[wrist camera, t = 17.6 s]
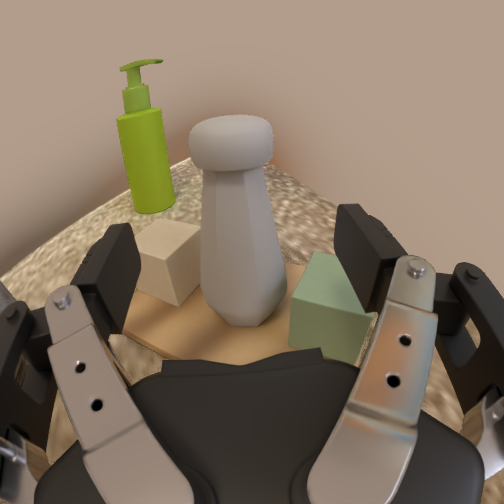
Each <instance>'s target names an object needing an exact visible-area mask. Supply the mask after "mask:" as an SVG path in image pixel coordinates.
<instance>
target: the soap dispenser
mask: <svg viewBox="0 0 504 504" xmlns="http://www.w3.org/2000/svg"><path fill="white" fill-rule="evenodd" d="M162 62H163V60H161V59H149V60H140V61H135V62H132V63H130V64H127V65H124V66H122V67H120V71H127V79H128V87H126V90H123V91H122V94H123V101H124V108H125V113H126V114H124V115H122V116H120V117H119V118H117V119H116V120H117V126H118V132H119V137H120V143H121V147H122V153H123V158H124V163H125V167H126V171H127V177H128V181H129V185H130V189H131V194H132V198H133V202H134V206H135V210H136V211H137V212H138V213H142V214H151V213H156V212H160V211H163V210H165V209H167V208H169V207H170V206H172V205H173V204H174V202H175V195H174V190H173V184H172V178H171V172H170V166H169V160H168V154H167V148H166V141H165V134H164V128H163V120H162V114H161V113H162V112H161V109H159V108H151V104H150V96H149V88H148V85H144V83H143V84H141V76H140V67H141V66H144V65H147V64H156V63H162Z"/></svg>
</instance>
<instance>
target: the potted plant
mask: <svg viewBox="0 0 504 504" xmlns="http://www.w3.org/2000/svg"><path fill="white" fill-rule="evenodd" d="M16 301H17V300H16V299H15V298H14V297H13V296H12V294H11V293H10V292H9V291H8V290H7V288H6V287H5V286H4V285H3V284H2V282H1V281H0V315H1V313H2V312H3V311H4V309H5V308H6V307H7V306H9V305H10V304H12V303H13V302H16ZM22 357H23V355H22V354H21V356H20V359H19V362H18V364H17V367H16V370H15V380H16V377H17V373H18V370H19V367H20V364H21V361H22Z"/></svg>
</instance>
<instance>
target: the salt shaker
mask: <svg viewBox="0 0 504 504" xmlns="http://www.w3.org/2000/svg"><path fill="white" fill-rule="evenodd" d="M273 148H274V137H273V132H272V127H271V125H270V124H269V123H268V122H267V121H266V120H265V119H263V118H259V117H255V116H251V115H229V116H220V117H215V118H210V119H207V120H204V121H202V122H200V123H198V124H197V125H195V126H194V128H193V129H192V130H191V131H190V133H189V151H190V156H191V159H192V161H193V163H194V164H195V166H196V167H197V168H200V169H203V187H202V213H201V256H200V287H201V290H202V292H203V295H204V297H205V300H206V302H207V305H208V306H209V307H211V308H212V309H213V310H214V311H215V312H217V313H218V314H219V315H220V316H222V317H223V318H224V319H225V320H226V322H227V323H228V324H229V325H230V326H240V327H258V326H259V325H260V324H261V323H262V322H263V321H264V320H265V319H267V318H268V317H269V316H270V315H271V314H272V313H273V312H274V311H275V310H276V308H277V307H278V305H279V304H280V302H281V300H282V299H283V297H284V296H285V294H286V291H287V275H286V270H285V266H284V261H283V257H282V252H281V248H280V244H279V239H278V235H277V231H276V226H275V222H274V218H273V213H272V209H271V204H270V199H269V194H268V190H267V185H266V181H265V176H264V172H263V167H262V165H263V164H265V163H267V162H268V161H270V160H271V159H272V156H273V150H274V149H273Z"/></svg>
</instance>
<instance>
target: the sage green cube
mask: <svg viewBox="0 0 504 504" xmlns="http://www.w3.org/2000/svg"><path fill="white" fill-rule="evenodd" d="M373 317H374V312H371V313H366V314H365V312H364V310H363V308H362V306H361V304H360V301H359V299H358V297H357V295H356V293H355V291H354V289H353V287H352V285H351V283H350V281H349V279H348V277H347V275H346V273H345V271H344V269H343V267H342V265H341V263H340V261H339V260H338V258H337V256H335V255H331V254H326V253H322V252H317V251H314V252H313V254H312V256H311V258H310V260H309V262H308V264H307V266H306V268H305V270H304V272H303V274H302V276H301V278H300V280H299V282H298V284H297V286H296V288H295V290H294V292H293V294H292V296H291V309H290V324H289V337H288V346H290V347H294V348H297V349H300V350H304V349H311V348H318V347H321V351H322V354H323V356H325V357H328V358H332V359H336V360H339V361H343V362H347V363H351V364H355V363H356V361H357V358H358V356H359V353H360V351H361V349H362V346H363V344H364V341H365V339H366V336H367V333H368V331H369V328H370V325H371V323H372V320H373Z"/></svg>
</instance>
